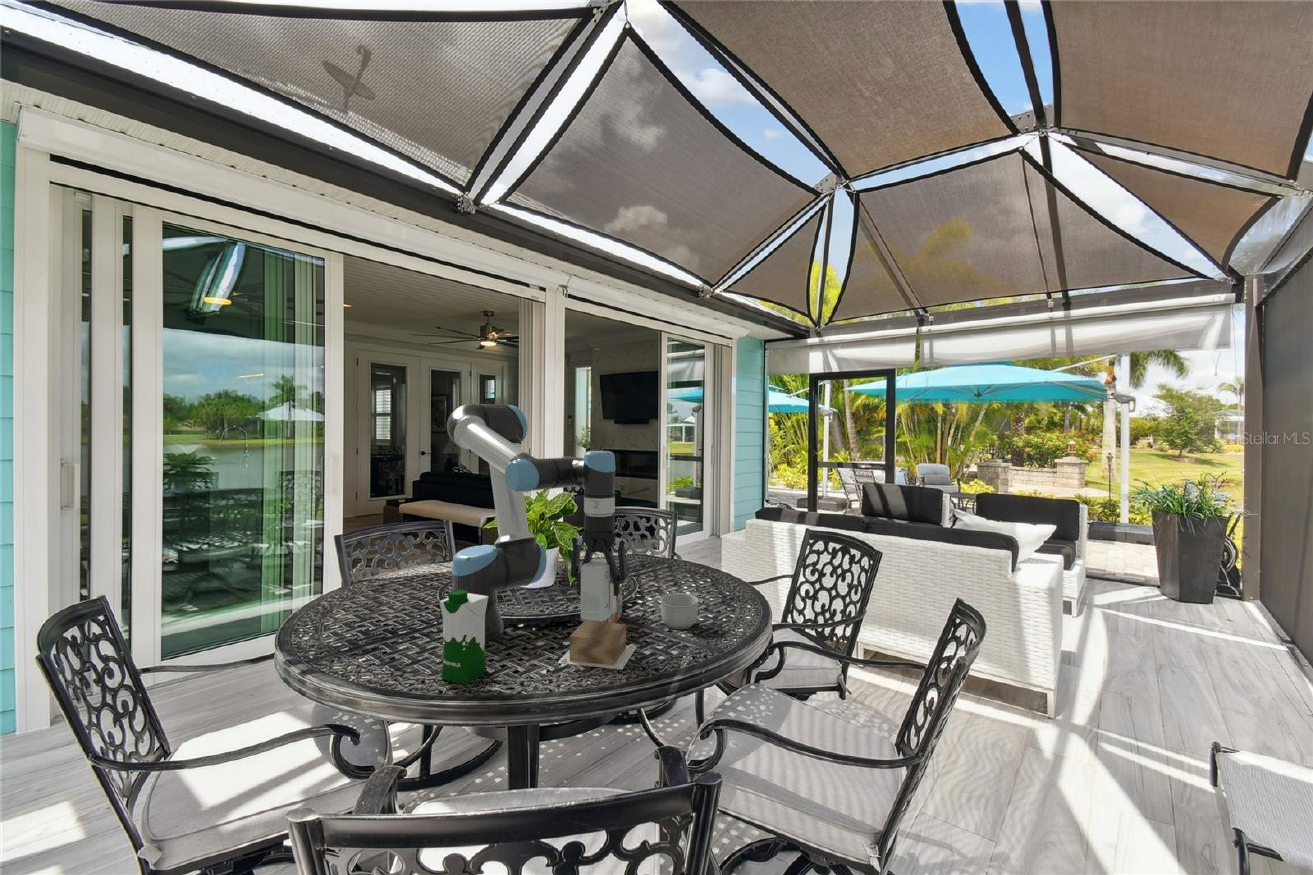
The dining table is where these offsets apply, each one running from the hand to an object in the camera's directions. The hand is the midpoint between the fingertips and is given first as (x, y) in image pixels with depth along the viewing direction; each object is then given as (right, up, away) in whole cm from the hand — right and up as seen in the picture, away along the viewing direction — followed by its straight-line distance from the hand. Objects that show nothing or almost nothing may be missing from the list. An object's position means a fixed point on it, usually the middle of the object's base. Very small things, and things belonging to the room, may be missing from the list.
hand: (598, 607), depth 144 cm
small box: (0, -2, 0) cm, 2 cm away
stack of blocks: (-1, -13, +24) cm, 27 cm away
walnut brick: (0, -12, 0) cm, 12 cm away
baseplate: (0, -13, 0) cm, 13 cm away
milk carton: (-30, -13, -10) cm, 34 cm away
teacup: (+19, -13, +25) cm, 34 cm away
